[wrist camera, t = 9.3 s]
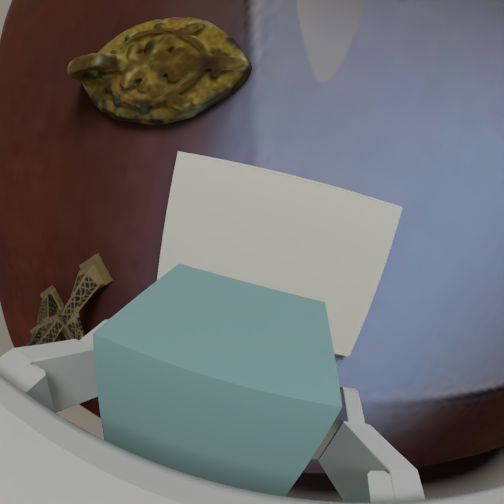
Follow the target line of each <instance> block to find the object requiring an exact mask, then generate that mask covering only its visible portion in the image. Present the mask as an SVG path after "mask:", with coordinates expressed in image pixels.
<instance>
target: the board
mask: <svg viewBox="0 0 504 504" xmlns="http://www.w3.org/2000/svg"><path fill="white" fill-rule="evenodd" d="M402 208H403V207H400V206H397V205H394V204H391V203H388V202H385V201H382V200H379V199H375V198H372V197H369V196H366V195H362V194H359V193H356V192H352V191H349V190H345V189H342V188H338V187H335V186H331V185H328V184H324V183H320V182H317V181H313V180H309V179H305V178H301V177H298V176H294V175H290V174H286V173H281V172H277V171H273V170H269V169H265V168H260V167H256V166H251V165H247V164H242V163H237V162H233V161H228V160H223V159H218V158H213V157H207V156H202V155H197V154H191V153H186V152H180V151H178V153H177V158H176V163H175V168H174V173H173V178H172V184H171V189H170V195H169V200H168V206H167V212H166V218H165V225H164V231H163V238H162V245H161V252H160V260H159V267H158V276H157V280H158V279H160V278H161V277H162V276H164V275H165V274H166V273H167V272H169V271H170V270H171V269H172V268H174V267H175V266H176V265H178V264H183V265H186V266H190V267H193V268H197V269H200V270H204V271H208V272H211V273H215V274H218V275H222V276H226V277H229V278H233V279H237V280H241V281H244V282H248V283H252V284H256V285H259V286H263V287H267V288H271V289H275V290H279V291H283V292H286V293H290V294H294V295H298V296H302V297H306V298H310V299H314V300H318V301H322V302H325V305H326V310H327V315H328V321H329V326H330V332H331V337H332V343H333V349H334V354H338V355H343V356H348V357H349V356H350V354H351V351H352V349H353V347H354V345H355V342H356V340H357V338H358V335H359V333H360V331H361V328H362V326H363V323H364V321H365V318H366V316H367V313H368V311H369V308H370V306H371V303H372V300H373V298H374V295H375V292H376V290H377V287H378V284H379V281H380V278H381V276H382V273H383V270H384V267H385V264H386V261H387V258H388V255H389V252H390V248H391V245H392V242H393V239H394V236H395V232H396V229H397V225H398V222H399V218H400V215H401V211H402Z"/></svg>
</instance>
